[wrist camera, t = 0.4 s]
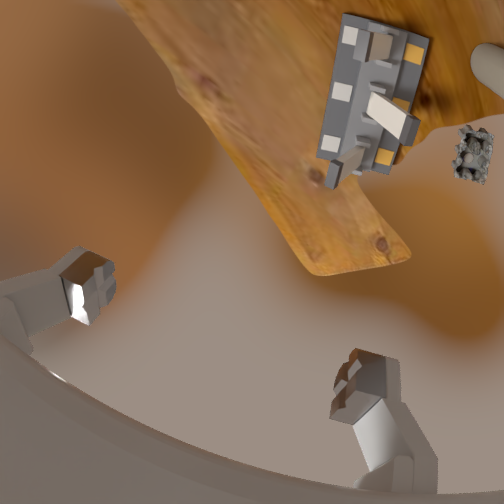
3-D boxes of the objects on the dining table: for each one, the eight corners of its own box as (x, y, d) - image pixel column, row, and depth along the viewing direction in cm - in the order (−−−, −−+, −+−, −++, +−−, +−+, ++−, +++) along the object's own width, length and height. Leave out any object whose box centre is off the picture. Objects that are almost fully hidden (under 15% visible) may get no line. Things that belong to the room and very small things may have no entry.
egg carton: (477, 176, 50) (484, 187, 47) (446, 169, 52) (452, 180, 49) (491, 129, 43) (500, 139, 40) (459, 120, 44) (467, 129, 41)
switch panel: (316, 153, 57) (315, 166, 53) (342, 13, 37) (344, 14, 34) (387, 170, 55) (391, 185, 52) (426, 38, 36) (435, 42, 32)
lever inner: (380, 56, 39) (352, 58, 33) (385, 32, 36) (358, 28, 30) (389, 60, 38) (364, 62, 32) (395, 36, 35) (370, 32, 29)
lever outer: (353, 162, 53) (324, 185, 47) (359, 142, 50) (330, 161, 44) (361, 166, 52) (333, 189, 46) (367, 145, 49) (339, 166, 43)
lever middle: (363, 112, 45) (403, 145, 38) (369, 89, 42) (412, 119, 35) (371, 113, 46) (411, 146, 39) (377, 90, 43) (420, 120, 36)
